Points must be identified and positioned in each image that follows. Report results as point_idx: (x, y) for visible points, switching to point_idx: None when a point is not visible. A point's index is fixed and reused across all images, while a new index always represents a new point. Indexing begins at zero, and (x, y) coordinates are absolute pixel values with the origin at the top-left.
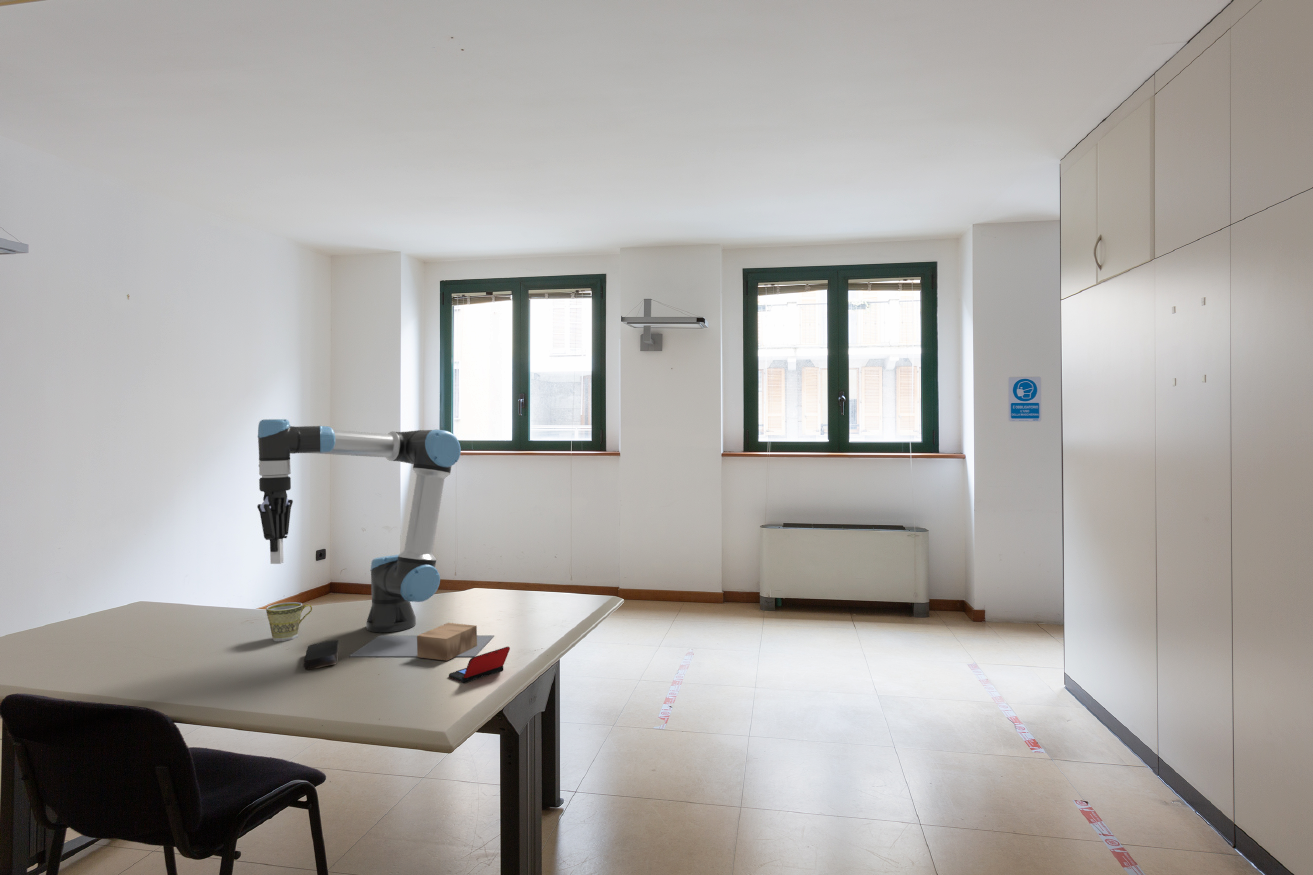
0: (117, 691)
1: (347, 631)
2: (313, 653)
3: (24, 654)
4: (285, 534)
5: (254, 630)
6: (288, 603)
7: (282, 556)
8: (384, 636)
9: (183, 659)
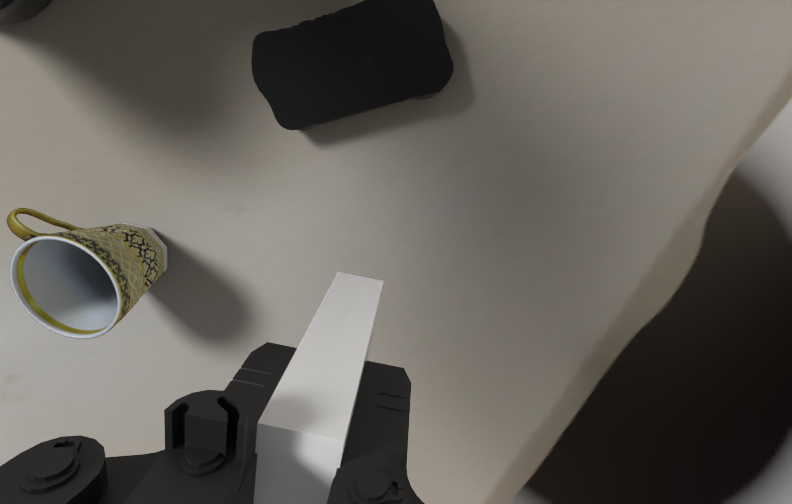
0: (497, 445)
1: (59, 83)
2: (382, 80)
3: None
4: (103, 460)
5: (77, 350)
6: (20, 291)
7: (339, 298)
8: None
9: None
